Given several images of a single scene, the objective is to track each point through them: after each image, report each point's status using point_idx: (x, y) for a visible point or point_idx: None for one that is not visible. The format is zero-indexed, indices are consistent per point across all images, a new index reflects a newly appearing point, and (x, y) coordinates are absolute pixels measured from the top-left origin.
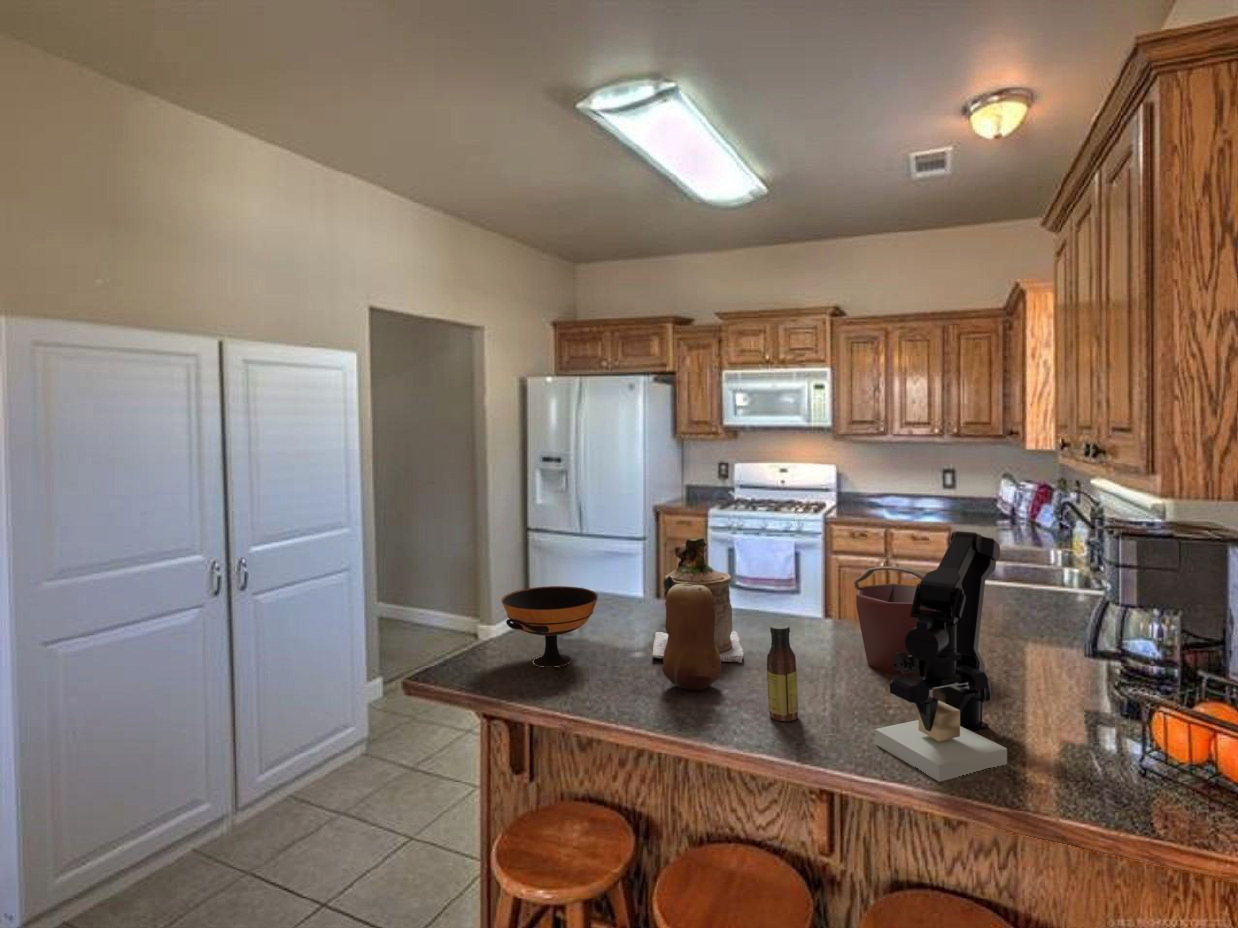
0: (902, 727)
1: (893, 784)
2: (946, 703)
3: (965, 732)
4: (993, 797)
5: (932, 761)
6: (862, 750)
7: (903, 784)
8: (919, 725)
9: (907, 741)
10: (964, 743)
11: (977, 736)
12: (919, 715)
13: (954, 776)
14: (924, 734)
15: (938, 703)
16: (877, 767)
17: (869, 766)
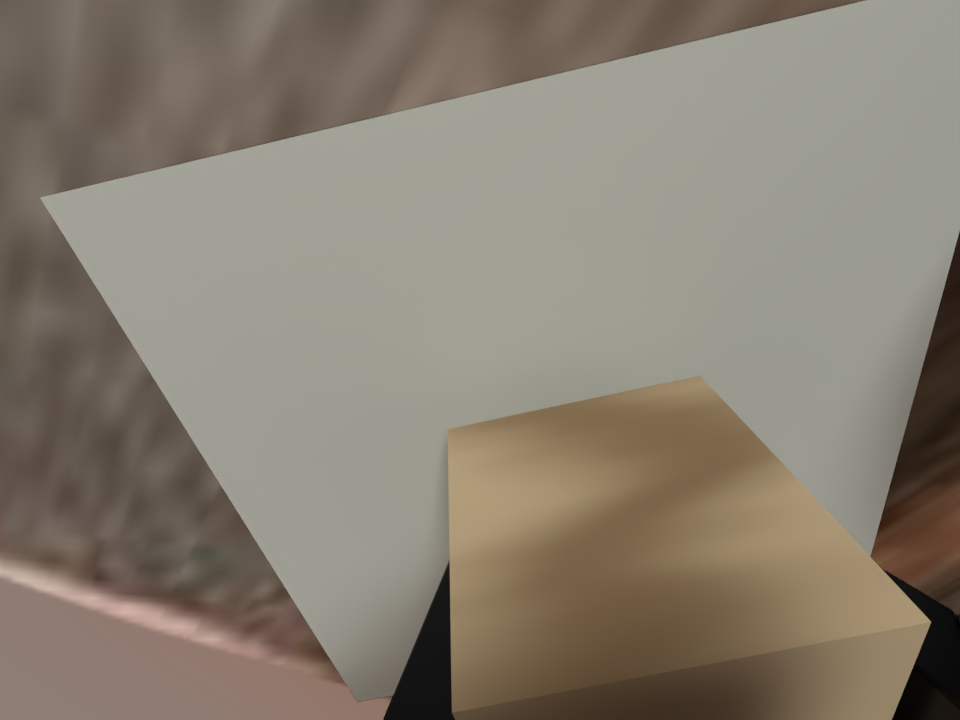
0: (383, 216)
1: (139, 615)
2: (915, 692)
3: (850, 408)
4: None
5: (342, 674)
6: (6, 264)
7: (190, 617)
8: (450, 472)
9: (299, 475)
10: None
11: (862, 472)
12: (451, 562)
13: None
14: (508, 391)
15: (801, 693)
16: (86, 484)
17: (34, 470)
